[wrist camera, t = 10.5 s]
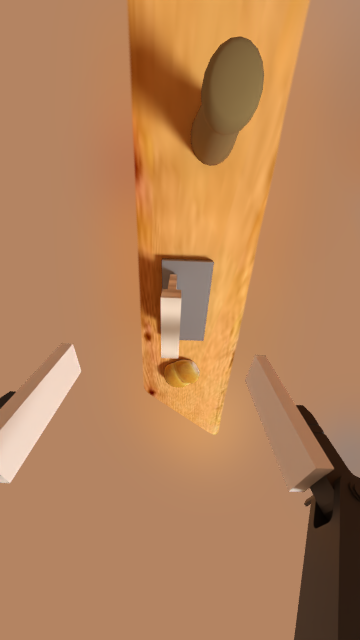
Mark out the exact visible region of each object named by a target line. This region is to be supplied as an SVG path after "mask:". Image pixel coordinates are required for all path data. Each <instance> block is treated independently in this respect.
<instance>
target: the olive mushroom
mask: <svg viewBox="0 0 360 640" xmlns="http://www.w3.org/2000/svg"><path fill="white" fill-rule="evenodd" d="M263 80H264V71H263V61H262V59H261V56H260V53H259V51H258V49H257V48H256V46H255V45H254V44H253V43H252V42H251V41H250V40H248V39H246V38H243V37H234V38H230V39H228V40H227V41H225V42H224V43H223V44H221V45H220V46H219V48H218V49H217V50H216V52H215V53H214V54H213V56H212V57H211V59H210V62H209V64H208V66H207V69H206V71H205V74H204V79H203V84H202V90H201V106H200V109H199V111H198V113H197V115H196V118H195V120H194V122H193V125H192V130H191V144H192V148H193V151H194V153H195V155H196V157H197V158H198V159H199V160H200V161H201V162H202V163H203V164H206V165H217V164H219V163H221V162H223V161H224V160H225V159H226V158H227V157H228V156H229V154H230V152H231V150H232V148H233V146H234V143H235V141H236V138H237V135H238V133H239V131H240V130H242V128H243V127H244V126H245V125H246V124H247V123H248V122H249V121H250V119H251V118H252V116H253V114H254V112H255V111H256V109H257V107H258V103H259V100H260V97H261V94H262V90H263Z"/></svg>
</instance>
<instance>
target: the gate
mask: <svg viewBox="0 0 360 640" xmlns="http://www.w3.org/2000/svg"><path fill="white" fill-rule="evenodd" d="M176 288H177V274H170V278H169V284H168V289H162V294H161V358H178V355H179V336H180V317H181V290H176Z"/></svg>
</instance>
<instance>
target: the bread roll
mask: <svg viewBox="0 0 360 640" xmlns="http://www.w3.org/2000/svg"><path fill="white" fill-rule="evenodd" d="M164 377H165V380H166V382H167V383H168V384H169V385H171V386H172V387H185V386H187V385H188V384H192V383H195V382H196V381H197V380H198V378H199V369H198V367H197V365H196V364H195V363H194V362H193V361H191V360H178V361H176V362H174V363H171V364H169V365H167V366H166V368H165V370H164Z"/></svg>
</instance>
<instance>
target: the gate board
mask: <svg viewBox="0 0 360 640" xmlns="http://www.w3.org/2000/svg"><path fill="white" fill-rule="evenodd" d="M213 264H214V262H213V261H212V260H186V259H162V289H168V284H169V278H170V274H177V288H176V290H181V317H180V336H179V340H197V341H203V340H204V332H205V325H206V317H207V310H208V302H209V295H210V287H211V280H212V272H213Z"/></svg>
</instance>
